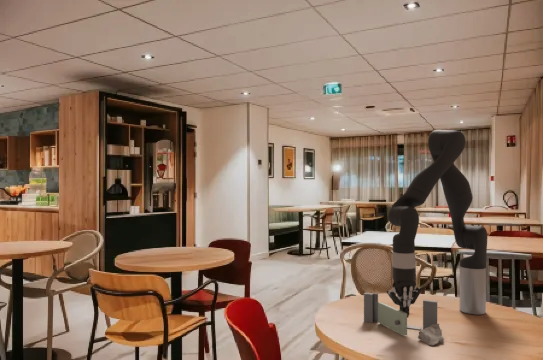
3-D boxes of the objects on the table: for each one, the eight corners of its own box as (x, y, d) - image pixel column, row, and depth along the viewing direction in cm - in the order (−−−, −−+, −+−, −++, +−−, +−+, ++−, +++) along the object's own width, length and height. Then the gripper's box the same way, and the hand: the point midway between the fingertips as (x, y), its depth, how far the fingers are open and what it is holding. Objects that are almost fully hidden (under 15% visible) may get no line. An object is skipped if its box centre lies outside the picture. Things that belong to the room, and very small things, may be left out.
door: (380, 321, 150) (380, 302, 150) (407, 335, 137) (407, 313, 137) (375, 322, 149) (375, 302, 149) (401, 336, 136) (401, 314, 136)
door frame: (365, 319, 154) (365, 291, 154) (437, 329, 143) (437, 300, 143) (363, 321, 151) (363, 293, 151) (436, 332, 140) (436, 302, 140)
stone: (454, 339, 136) (454, 326, 136) (434, 347, 128) (434, 333, 128) (435, 334, 141) (435, 321, 141) (415, 341, 133) (415, 328, 133)
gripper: (394, 269, 135) (395, 323, 135) (427, 265, 140) (428, 318, 140) (380, 265, 142) (381, 316, 142) (412, 261, 147) (413, 311, 147)
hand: (404, 317), depth 141 cm, fingers closed
